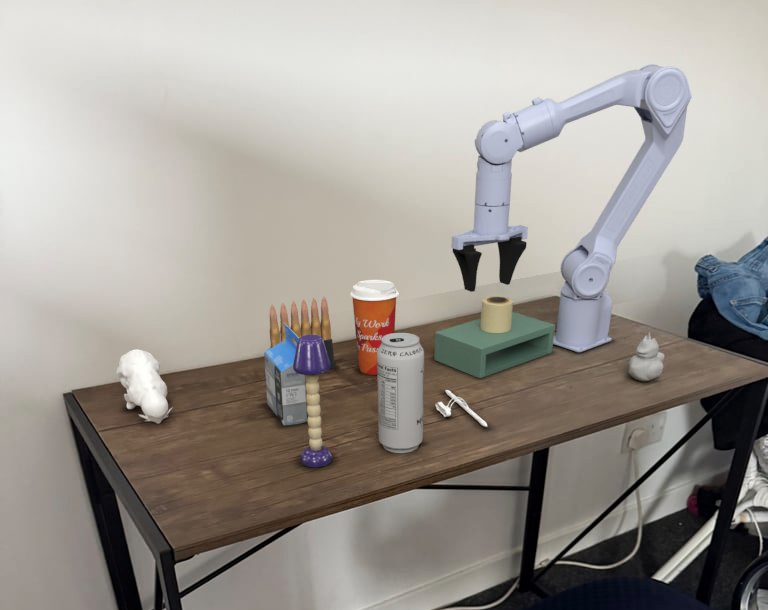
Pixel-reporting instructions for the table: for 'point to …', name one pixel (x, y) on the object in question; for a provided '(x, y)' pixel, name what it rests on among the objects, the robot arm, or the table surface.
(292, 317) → the ammunition clip
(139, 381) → the white animal figurine
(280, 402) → the label tape box
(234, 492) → the table surface
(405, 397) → the energy drink can
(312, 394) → the toy lamp
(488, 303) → the tape roll
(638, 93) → the robot arm
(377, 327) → the paper cup
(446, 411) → the picture light
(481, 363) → the desk shelf
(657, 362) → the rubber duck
